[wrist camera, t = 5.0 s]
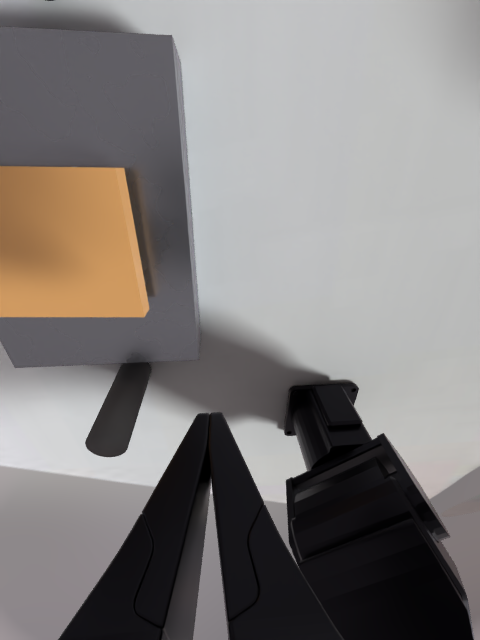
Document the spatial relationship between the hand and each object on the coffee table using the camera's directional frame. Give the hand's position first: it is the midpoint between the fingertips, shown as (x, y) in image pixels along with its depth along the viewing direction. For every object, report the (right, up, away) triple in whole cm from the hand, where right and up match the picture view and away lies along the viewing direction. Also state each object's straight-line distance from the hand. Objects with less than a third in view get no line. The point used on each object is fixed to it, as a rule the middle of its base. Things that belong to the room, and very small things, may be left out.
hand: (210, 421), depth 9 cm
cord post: (-8, -1, +13) cm, 15 cm away
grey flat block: (-8, +9, +7) cm, 14 cm away
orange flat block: (-8, +7, +4) cm, 12 cm away
